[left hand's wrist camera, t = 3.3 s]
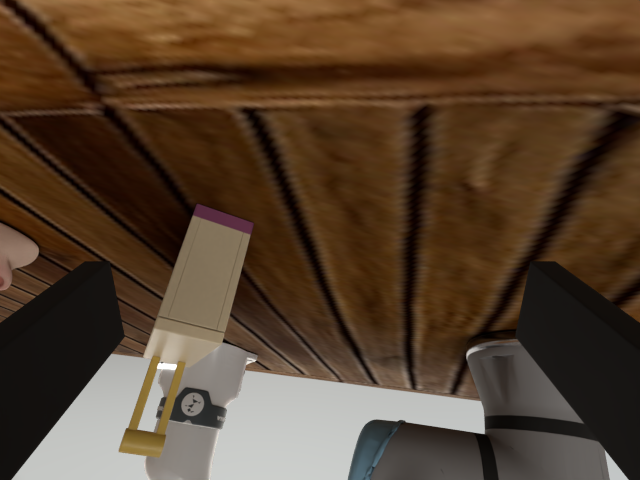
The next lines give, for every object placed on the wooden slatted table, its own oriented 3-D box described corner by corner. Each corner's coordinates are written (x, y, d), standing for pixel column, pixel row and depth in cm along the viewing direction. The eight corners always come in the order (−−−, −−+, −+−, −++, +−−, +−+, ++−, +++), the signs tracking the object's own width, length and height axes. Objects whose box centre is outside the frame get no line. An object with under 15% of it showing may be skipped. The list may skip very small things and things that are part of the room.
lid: (192, 359, 40) (164, 456, 36) (145, 348, 39) (110, 448, 35) (225, 332, 27) (187, 477, 23) (157, 316, 26) (105, 466, 22)
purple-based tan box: (217, 275, 43) (193, 357, 39) (175, 263, 42) (146, 347, 38) (253, 223, 32) (225, 332, 27) (196, 203, 30) (157, 315, 26)
